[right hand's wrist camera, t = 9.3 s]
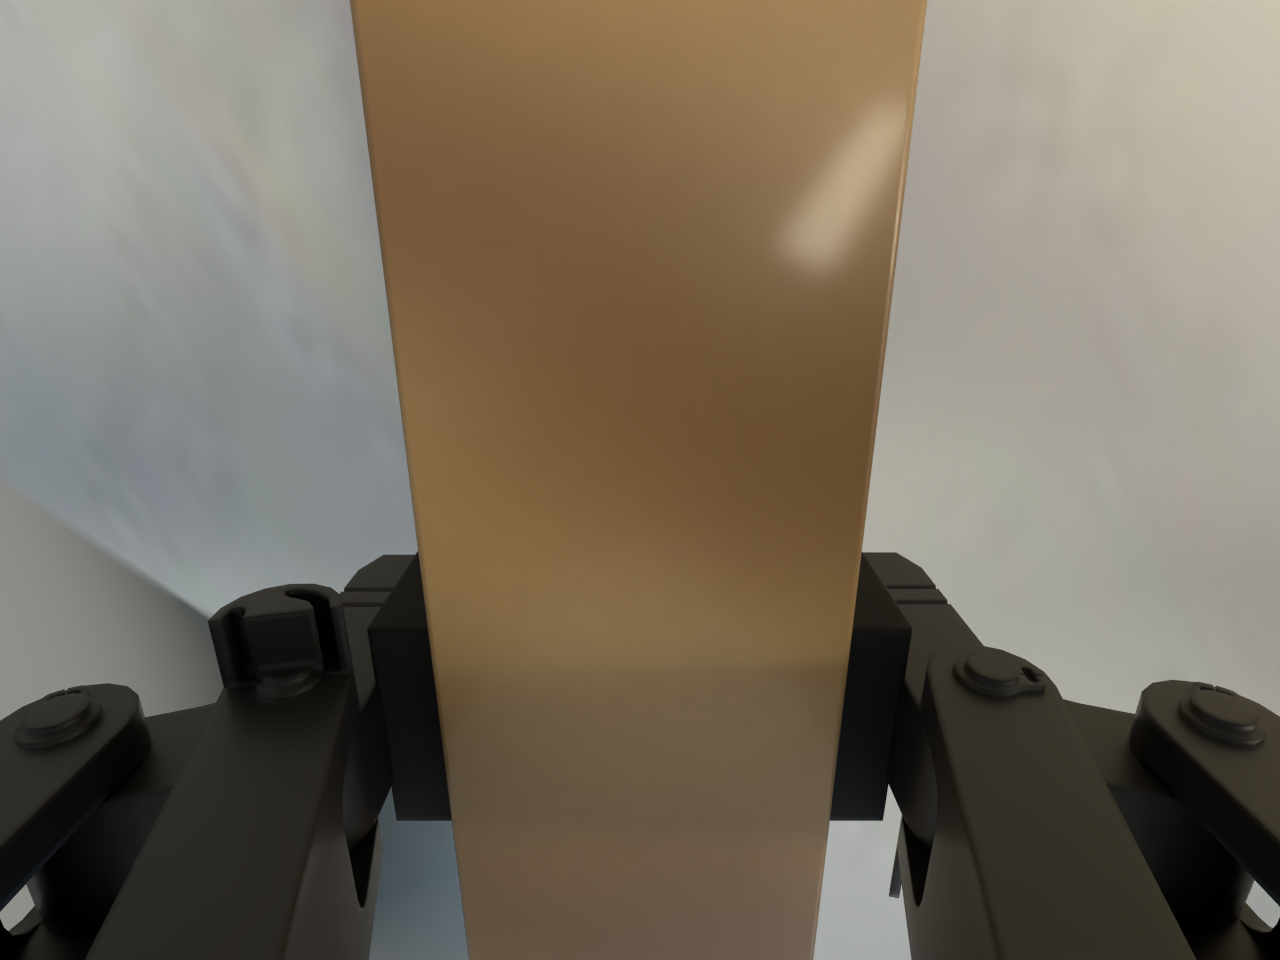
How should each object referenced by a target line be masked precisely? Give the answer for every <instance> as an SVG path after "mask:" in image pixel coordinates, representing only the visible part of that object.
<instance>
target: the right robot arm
mask: <svg viewBox="0 0 1280 960" xmlns="http://www.w3.org/2000/svg"><path fill="white" fill-rule="evenodd" d="M208 624H209V628H210V632H211V636H212V640H213V644H214V648H215V652H216V656H217V661H218V664H219V669H220V673H221V677H222V681H223V685H224V688H223V690H222V692H221V694H220V696H219V698H218V700H217V702H216V703H213V704H209V705H205V706H201V707H196V708H191V709H186V710H181V711H176V712H171V713H165V714H161V715H155V716H150V717H145V716H144V713H143V709H142V706H141V702H140V699H139V696H138V694H137V693H135V692H134V691H133V690H132V689H130V688H129V687H128V686H122V685H115V684H109V683H107V684H97V685H87V686H77V687H72V688H68V690H61V691H57V692H54V693H51V694H49V695H46V696H45V697H43V698H42V699H40V700H37V701H35V702H33V703H30V704H28V705H26V706H23V707H21V708H20V709H18V710H17V711H15V712H13V713H12V714H10V715H9V716H7V717H6V718H4V719H2V720H1V721H0V911H1V910H2V909H3V908H4V907H5V906H6V905H7V904H8V903H9V902H10V900H11V899H12V898H13V897H14V896H15V895H16V894H17V893H18V892H19V891H20V890H21V889H22V888H23V887H24V886H25V884H26V885H27V887H28V889H29V892H30V894H31V897H32V899H33V902H34V904H35V906H34V907H33V909H32V910H31V911H30V912H29V913H28V914H27V915H26V916H25V917H24V919H23V920H22V921H20V922H19V923H18V924H17V925H16V926H14V927H13V928H12V929H11V930H9V931H7V930H6V929H5V928H4V927H3V924H2V922H1V920H0V960H369V952H370V944H371V937H372V929H373V922H374V914H375V906H376V899H377V891H378V884H379V876H380V868H381V861H382V853H383V844H382V837H381V830H380V824H379V818H378V815H379V813H380V811H381V809H382V806H383V804H384V802H385V799H386V797H387V795H388V792H389V790H390V788H391V786H392V793H393V799H394V806H395V812H396V819H397V820H398V821H400V820H401V821H408V820H409V821H411V820H412V821H413V820H414V821H415V820H416V821H417V820H419V821H424V820H426V821H427V820H452V818H451V810H450V802H449V794H448V786H447V778H446V770H445V762H444V754H443V746H442V738H441V730H440V722H439V714H438V706H437V698H436V689H435V681H434V673H433V665H432V657H431V649H430V641H429V633H428V625H427V617H426V609H425V601H424V593H423V585H422V577H421V569H420V561H419V553H418V552H417V553H416V555H383V556H381V557H379V558H378V559H376V560H374V561H373V562H371V563H370V564H368V565H366V566H365V567H363V568H361V569H360V570H358V571H357V573H356V574H355V575H354V577H353V578H352V579H351V580H350V582H349V583H348V584H347V585H346V587H345V588H344V592H341V593H340V594H339V593H337V592H336V591H335V590H333V589H332V588H330V587H325V586H321V585H316V584H288V585H283V586H277V587H272V588H266V589H263V590H260V591H257V592H254V593H251V594H248V595H245V596H242V597H240V598H238V599H237V600H235V601H233V602H231V603H229V604H228V605H226V606H224V607H222V608H221V609H220V610H219V611H217V612H216V613H215V614H214V615H213V616H212V617H211V618H210V619H209V620H208ZM888 783H889V785H890V788H891V790H892V792H893V795H894V797H895V799H896V801H897V804H898V806H899V808H900V811H901V813H902V818H901V824H900V830H899V836H898V842H897V848H896V854H895V860H894V866H893V872H892V878H891V885H890V892H889V896H890V897H895V898H899V894H900V889H901V883H902V890H903V897H904V905H905V912H906V920H907V928H908V935H909V943H910V951H911V958H912V960H1280V918H1279V920H1278V923H1277V925H1276V926H1275V927H1274V928H1271V927H1269V926H1268V925H1267V924H1266V923H1265V922H1264V921H1263V920H1261V919H1260V918H1259V917H1258V916H1257V915H1256V914H1255V913H1254V911H1253V910H1252V909H1251V908H1250V907H1249V906H1248V905H1247V904H1246V900H1247V897H1248V895H1249V893H1250V890H1251V888H1252V885H1253V883H1254V880H1255V881H1256V882H1257V883H1258V884H1259V885H1260V886H1261V887H1262V888H1263V889H1264V890H1265V891H1266V892H1267V893H1268V894H1269V896H1270V897H1271V898H1272V899H1273V900H1274V901H1275V902H1276V903H1277V904H1278V905H1279V906H1280V717H1279V716H1278V715H1276V714H1275V713H1273V712H1271V711H1270V710H1268V709H1267V708H1265V707H1263V706H1262V705H1260V704H1259V703H1256V702H1254V701H1252V700H1249V699H1247V698H1245V697H1242V696H1240V695H1238V694H1237V693H1235V692H1233V691H1231V690H1228V689H1225V688H1222V687H1219V686H1216V687H1213V685H1211V684H1206V683H1201V682H1188V681H1178V680H1169V681H1162V682H1156V683H1152V684H1151V685H1150V686H1148V687H1147V688H1146V689H1144V690H1143V691H1142V693H1141V697H1140V700H1139V703H1138V707H1137V710H1136V714H1131V713H1126V712H1121V711H1116V710H1111V709H1106V708H1101V707H1095V706H1090V705H1085V704H1080V703H1076V702H1072V701H1068V700H1064V699H1062V697H1061V695H1060V693H1059V691H1058V689H1057V687H1056V686H1055V684H1054V683H1053V682H1052V681H1051V680H1050V678H1049V677H1048V676H1047V675H1046V674H1045V672H1043V671H1042V670H1040V669H1039V668H1037V667H1036V666H1034V665H1033V664H1031V663H1030V662H1028V661H1027V660H1025V659H1023V658H1020V657H1018V656H1015V655H1013V654H1010V653H1008V652H1006V651H1003V650H999V649H995V648H990V647H985V646H983V645H982V643H981V642H980V641H979V640H978V638H977V637H976V636H975V635H974V633H973V632H972V631H971V629H970V628H969V627H968V626H967V624H966V623H965V622H964V621H963V619H962V618H961V617H960V616H959V614H958V613H957V612H956V611H955V609H954V608H953V607H952V606H951V604H948V603H947V599H946V598H945V597H944V596H943V594H942V593H941V592H940V591H939V589H936V586H935V584H934V583H933V582H932V581H931V579H930V578H929V577H928V575H927V574H926V573H925V572H924V570H923V569H922V568H921V567H919V566H918V565H916V564H914V563H913V562H911V561H909V560H908V559H906V558H904V557H903V556H901V555H899V554H898V553H861V561H860V570H859V578H858V586H857V595H856V603H855V612H854V620H853V629H852V637H851V645H850V654H849V662H848V671H847V679H846V687H845V696H844V704H843V713H842V721H841V730H840V738H839V746H838V755H837V763H836V772H835V780H834V788H833V797H832V805H831V814H830V821H883V815H884V809H885V802H886V796H887V790H888Z"/></svg>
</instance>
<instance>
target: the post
mask: <svg viewBox="0 0 1280 960" xmlns="http://www.w3.org/2000/svg"><path fill="white" fill-rule="evenodd" d="M350 5H351V14H352V22H353V30H354V38H355V46H356V54H357V62H358V70H359V78H360V86H361V94H362V102H363V110H364V118H365V126H366V134H367V142H368V150H369V158H370V166H371V174H372V183H373V191H374V199H375V207H376V215H377V223H378V231H379V239H380V247H381V255H382V263H383V271H384V279H385V287H386V295H387V303H388V311H389V319H390V327H391V335H392V343H393V352H394V360H395V368H396V376H397V384H398V392H399V400H400V408H401V416H402V424H403V432H404V440H405V448H406V456H407V464H408V472H409V480H410V488H411V496H412V504H413V512H414V520H415V529H416V537H417V545H418V553H419V561H420V569H421V577H422V585H423V593H424V601H425V609H426V617H427V625H428V633H429V641H430V649H431V657H432V665H433V673H434V681H435V689H436V698H437V706H438V714H439V722H440V730H441V738H442V746H443V754H444V762H445V770H446V778H447V786H448V794H449V802H450V810H451V818H452V826H453V834H454V842H455V850H456V858H457V866H458V875H459V883H460V891H461V899H462V907H463V915H464V923H465V931H466V939H467V947H468V955H469V960H813V957H814V948H815V940H816V931H817V923H818V915H819V906H820V898H821V889H822V881H823V873H824V864H825V856H826V847H827V839H828V830H829V822H830V814H831V805H832V797H833V788H834V780H835V772H836V763H837V755H838V746H839V738H840V730H841V721H842V713H843V704H844V696H845V687H846V679H847V671H848V662H849V654H850V645H851V637H852V629H853V620H854V612H855V603H856V595H857V586H858V578H859V570H860V561H861V553H862V544H863V536H864V528H865V519H866V511H867V502H868V494H869V485H870V477H871V469H872V460H873V452H874V443H875V435H876V427H877V418H878V410H879V401H880V393H881V385H882V376H883V368H884V359H885V351H886V342H887V334H888V326H889V317H890V309H891V300H892V292H893V284H894V275H895V267H896V258H897V250H898V241H899V233H900V225H901V216H902V208H903V199H904V191H905V183H906V174H907V166H908V157H909V149H910V140H911V132H912V124H913V115H914V107H915V98H916V90H917V82H918V73H919V65H920V56H921V48H922V40H923V31H924V23H925V14H926V6H927V0H350Z"/></svg>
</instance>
